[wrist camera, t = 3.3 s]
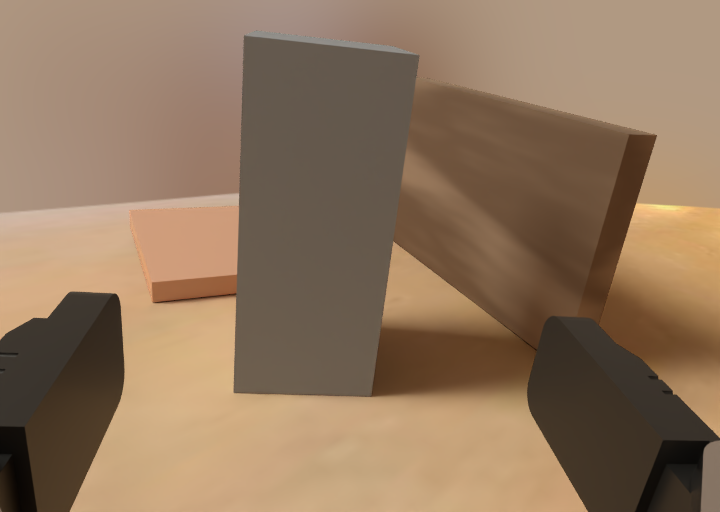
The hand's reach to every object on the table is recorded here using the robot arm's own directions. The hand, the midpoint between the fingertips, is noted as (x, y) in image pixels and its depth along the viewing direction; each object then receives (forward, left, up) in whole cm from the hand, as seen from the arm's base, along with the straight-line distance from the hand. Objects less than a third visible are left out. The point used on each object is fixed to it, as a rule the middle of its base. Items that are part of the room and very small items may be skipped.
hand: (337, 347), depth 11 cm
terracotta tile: (-3, -21, -7) cm, 22 cm away
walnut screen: (-14, -14, -7) cm, 21 cm away
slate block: (-3, -10, -7) cm, 13 cm away
